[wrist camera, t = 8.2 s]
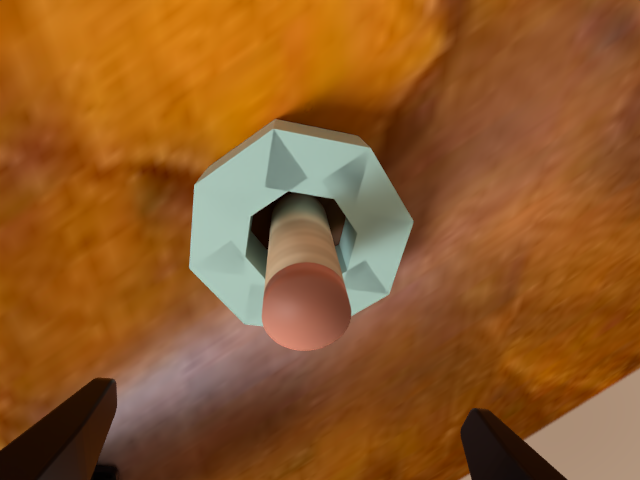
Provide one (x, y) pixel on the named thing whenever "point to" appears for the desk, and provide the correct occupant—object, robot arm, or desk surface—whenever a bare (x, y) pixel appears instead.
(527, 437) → the desk surface
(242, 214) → the bead
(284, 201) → the beige cylindrical peg
